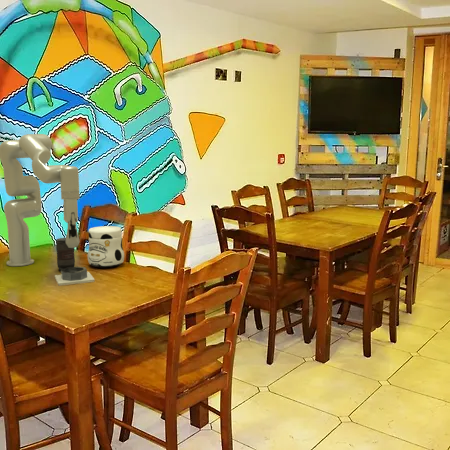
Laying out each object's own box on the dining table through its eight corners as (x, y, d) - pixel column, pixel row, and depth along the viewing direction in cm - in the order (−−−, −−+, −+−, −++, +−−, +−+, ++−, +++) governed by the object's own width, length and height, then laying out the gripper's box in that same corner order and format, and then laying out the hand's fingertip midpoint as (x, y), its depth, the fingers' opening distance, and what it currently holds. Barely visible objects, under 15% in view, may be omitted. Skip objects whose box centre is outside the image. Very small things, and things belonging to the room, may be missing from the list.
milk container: (87, 270, 256) (85, 232, 253) (88, 262, 273) (87, 226, 270) (124, 269, 260) (123, 231, 256) (124, 260, 276) (123, 225, 273)
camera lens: (78, 268, 261) (76, 237, 258) (71, 272, 253) (70, 240, 250) (61, 267, 261) (59, 236, 259) (54, 272, 253) (52, 240, 251)
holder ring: (60, 275, 244) (60, 268, 243) (84, 273, 248) (84, 265, 247) (63, 281, 234) (63, 273, 234) (88, 279, 238) (88, 271, 238)
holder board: (54, 277, 245) (54, 275, 244) (89, 274, 250) (88, 271, 250) (58, 285, 232) (58, 283, 232) (94, 281, 238) (94, 279, 238)
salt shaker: (67, 245, 241) (65, 216, 239) (80, 245, 242) (79, 216, 239) (64, 248, 236) (63, 218, 233) (78, 248, 236) (76, 218, 234)
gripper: (58, 193, 241) (61, 235, 244) (63, 198, 226) (66, 241, 229) (76, 193, 244) (78, 233, 247) (82, 197, 229) (84, 240, 232)
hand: (72, 237), depth 238 cm, fingers closed on salt shaker, 3 cm apart
